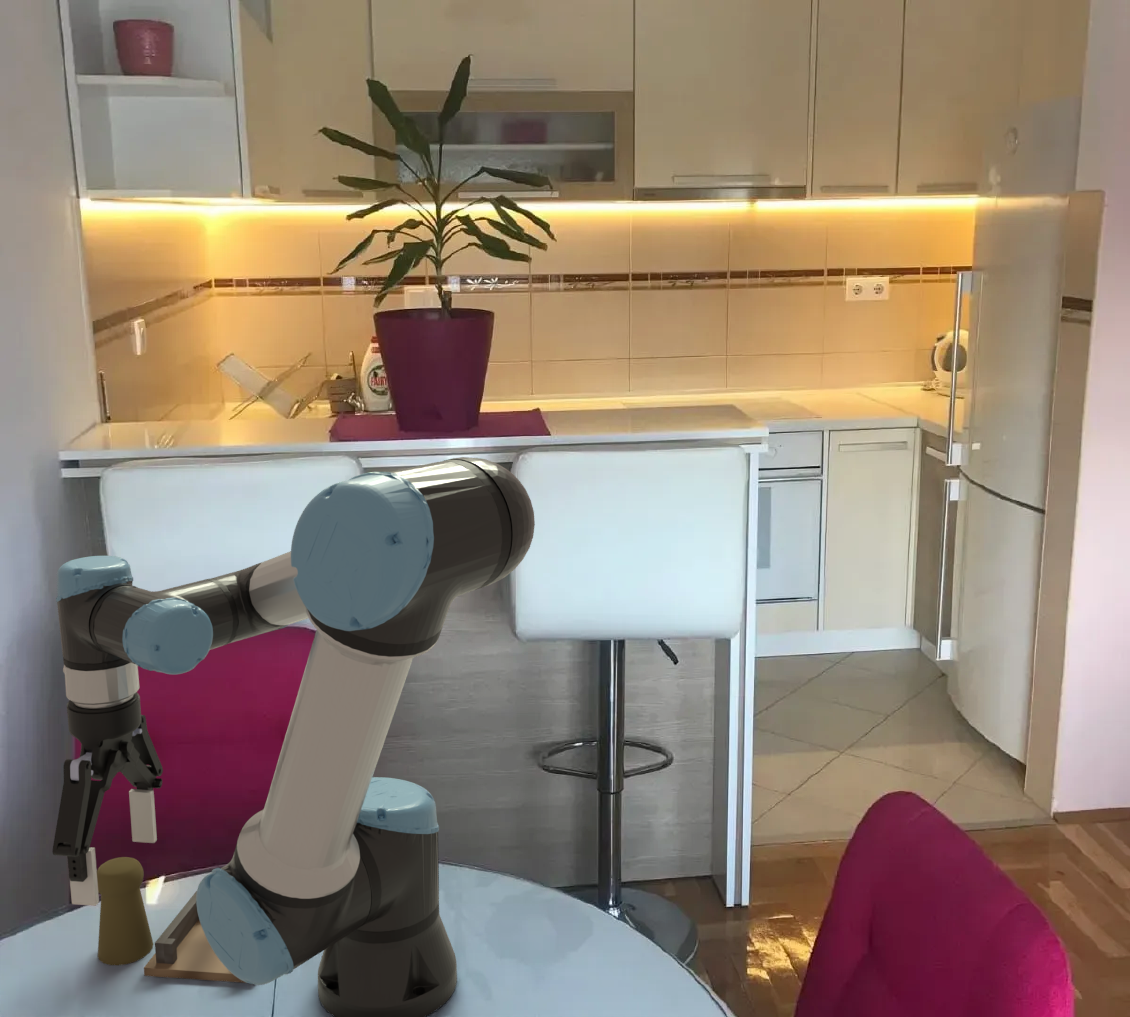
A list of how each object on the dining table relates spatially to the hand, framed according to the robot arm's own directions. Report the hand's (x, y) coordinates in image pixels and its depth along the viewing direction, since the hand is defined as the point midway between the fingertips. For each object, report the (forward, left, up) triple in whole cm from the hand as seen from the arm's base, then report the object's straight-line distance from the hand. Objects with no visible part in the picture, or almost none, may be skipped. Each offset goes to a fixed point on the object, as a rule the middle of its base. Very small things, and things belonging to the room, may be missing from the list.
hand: (116, 870), depth 128 cm
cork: (0, 0, -10) cm, 10 cm away
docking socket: (-11, -2, -10) cm, 15 cm away
